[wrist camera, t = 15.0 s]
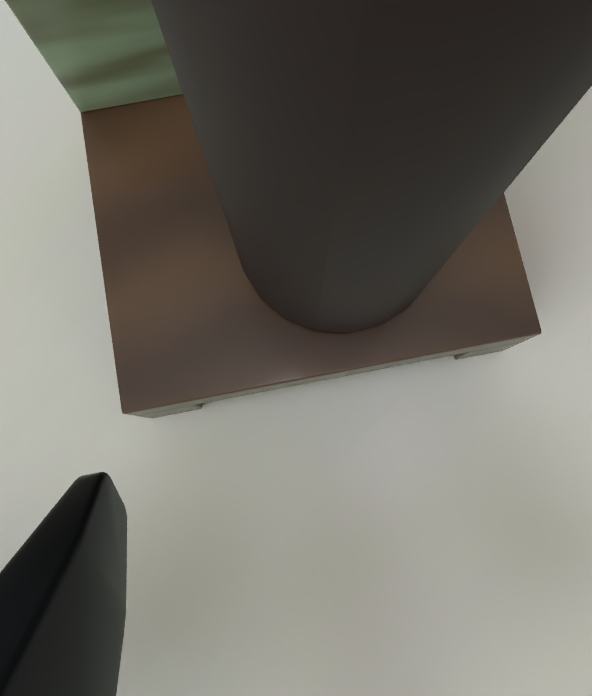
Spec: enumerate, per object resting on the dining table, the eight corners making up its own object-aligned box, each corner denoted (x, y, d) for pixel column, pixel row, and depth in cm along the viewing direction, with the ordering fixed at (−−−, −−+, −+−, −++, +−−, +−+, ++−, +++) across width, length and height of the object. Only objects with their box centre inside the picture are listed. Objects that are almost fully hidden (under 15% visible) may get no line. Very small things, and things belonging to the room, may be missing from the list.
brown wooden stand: (503, 350, 21) (662, 281, 12) (150, 418, 21) (30, 401, 12) (433, 78, 23) (522, -164, 14) (109, 137, 23) (-22, -71, 14)
